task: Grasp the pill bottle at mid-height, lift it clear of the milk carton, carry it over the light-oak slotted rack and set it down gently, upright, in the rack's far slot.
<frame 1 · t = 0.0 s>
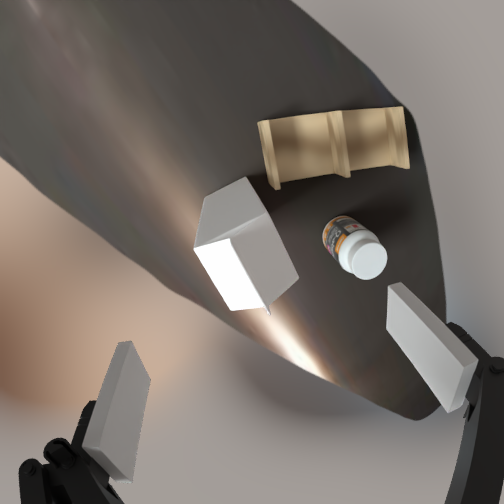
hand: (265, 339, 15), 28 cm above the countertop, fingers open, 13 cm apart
pill bottle: (339, 233, 44), on the countertop
rack: (329, 142, 39), on the countertop
milk: (235, 206, 41), on the countertop
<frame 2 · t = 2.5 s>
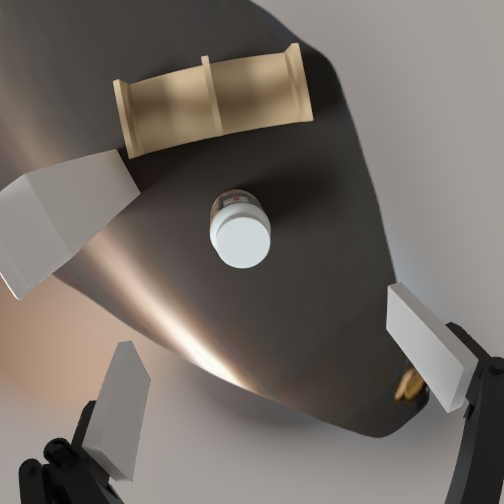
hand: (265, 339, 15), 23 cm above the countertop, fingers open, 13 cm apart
pill bottle: (236, 212, 36), on the countertop
rack: (213, 100, 31), on the countertop
milk: (108, 184, 33), on the countertop
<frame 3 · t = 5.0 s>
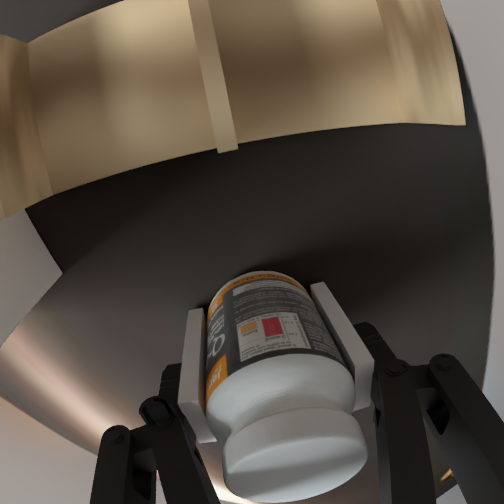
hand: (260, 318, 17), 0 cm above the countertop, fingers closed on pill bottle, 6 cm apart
pill bottle: (259, 312, 17), on the countertop, touching gripper
rack: (208, 62, 12), on the countertop
milk: (8, 251, 14), on the countertop
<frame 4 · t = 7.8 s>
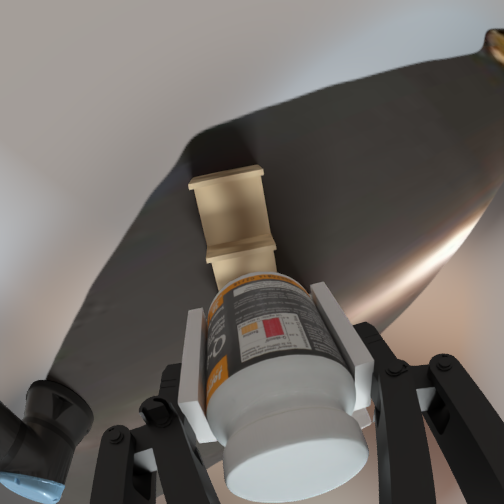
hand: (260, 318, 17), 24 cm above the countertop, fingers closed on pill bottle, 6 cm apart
pill bottle: (260, 313, 17), point 24 cm above the countertop, touching gripper
rack: (238, 238, 41), on the countertop
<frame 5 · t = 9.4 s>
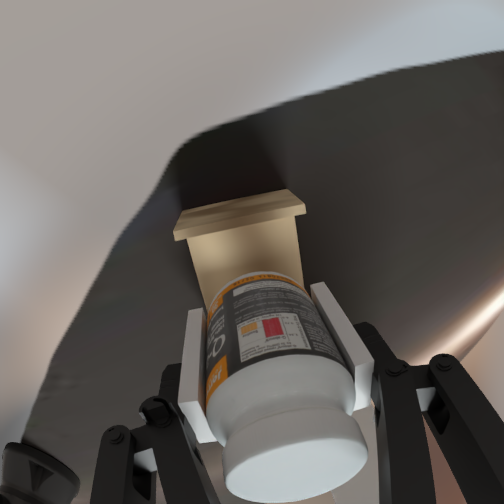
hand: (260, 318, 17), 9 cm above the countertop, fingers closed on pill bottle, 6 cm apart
pill bottle: (259, 313, 17), point 8 cm above the countertop, touching gripper
rack: (256, 301, 27), on the countertop
milk: (331, 389, 32), on the countertop
when the fingers open (3 cm above the countertop, at t = 10.7 s): pill bottle drops 2 cm, resting on rack.
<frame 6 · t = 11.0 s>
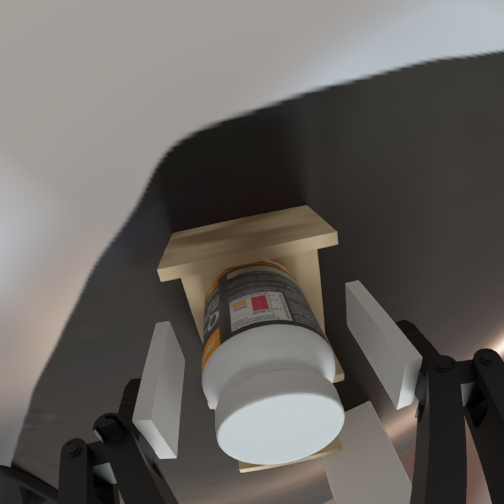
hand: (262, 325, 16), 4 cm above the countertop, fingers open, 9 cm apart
pill bottle: (252, 297, 19), point 1 cm above the countertop, touching rack
rack: (265, 340, 22), on the countertop
milk: (347, 425, 27), on the countertop
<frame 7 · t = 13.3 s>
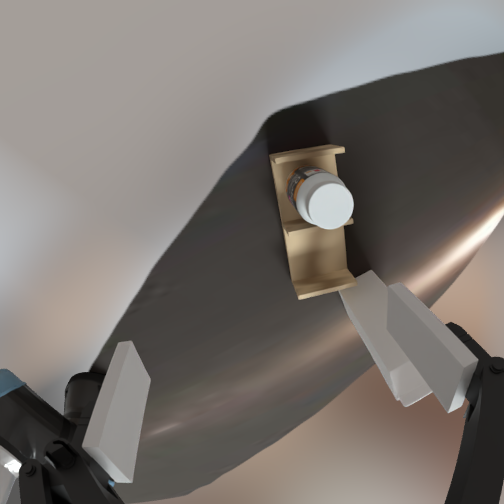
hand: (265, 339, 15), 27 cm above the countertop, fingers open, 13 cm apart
pill bottle: (306, 186, 39), point 1 cm above the countertop, touching rack
rack: (310, 215, 41), on the countertop
milk: (359, 292, 47), on the countertop
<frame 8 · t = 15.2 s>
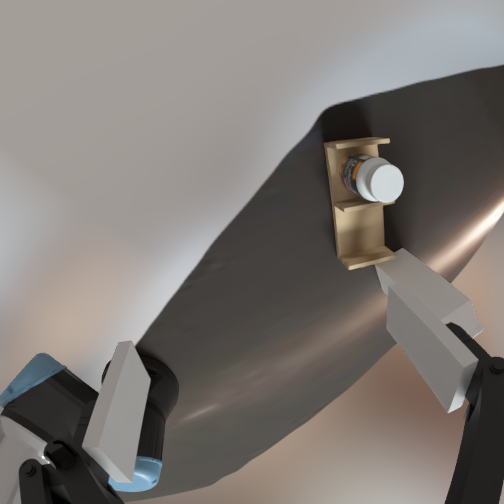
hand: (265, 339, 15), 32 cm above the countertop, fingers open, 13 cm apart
pill bottle: (354, 171, 44), point 1 cm above the countertop, touching rack
rack: (355, 197, 46), on the countertop
milk: (391, 268, 51), on the countertop
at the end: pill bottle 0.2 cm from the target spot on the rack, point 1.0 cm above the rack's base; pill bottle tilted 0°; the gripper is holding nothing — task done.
